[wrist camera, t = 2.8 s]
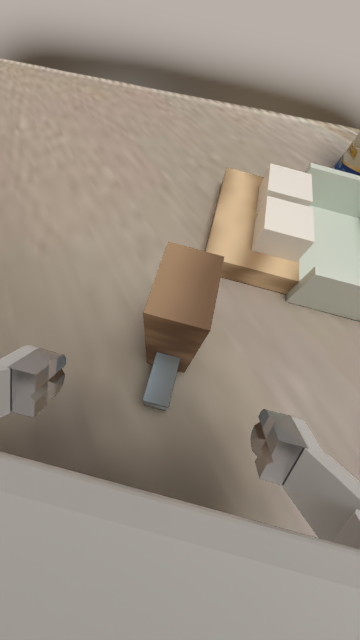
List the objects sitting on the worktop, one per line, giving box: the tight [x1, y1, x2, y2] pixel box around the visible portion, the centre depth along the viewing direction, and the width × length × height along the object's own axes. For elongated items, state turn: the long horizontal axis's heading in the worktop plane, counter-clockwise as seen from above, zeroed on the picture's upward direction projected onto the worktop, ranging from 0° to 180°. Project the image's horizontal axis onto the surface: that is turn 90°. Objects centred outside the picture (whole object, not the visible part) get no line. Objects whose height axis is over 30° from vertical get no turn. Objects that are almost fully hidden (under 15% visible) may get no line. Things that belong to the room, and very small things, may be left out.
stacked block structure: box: [143, 242, 224, 410], centre depth 17 cm, size 4×12×10 cm, turn 166°
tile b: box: [256, 163, 313, 214], centre depth 27 cm, size 5×5×3 cm
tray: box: [286, 163, 360, 321], centre depth 27 cm, size 11×18×5 cm, turn 166°
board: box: [205, 168, 299, 294], centre depth 28 cm, size 10×16×2 cm, turn 166°
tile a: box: [252, 196, 315, 262], centre depth 24 cm, size 5×5×3 cm
